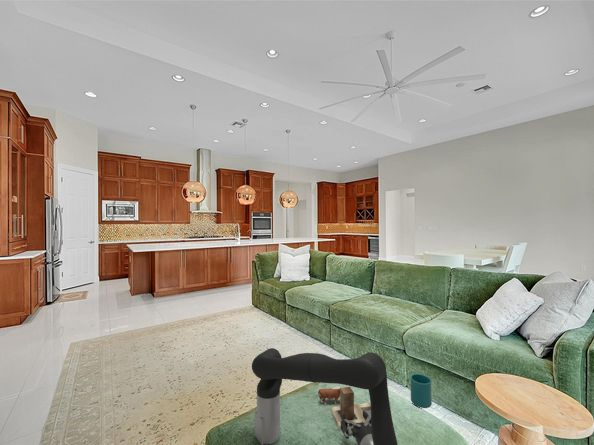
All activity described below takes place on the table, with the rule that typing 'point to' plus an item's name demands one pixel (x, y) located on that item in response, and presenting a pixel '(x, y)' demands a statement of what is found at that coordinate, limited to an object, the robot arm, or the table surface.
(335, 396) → the bull figurine
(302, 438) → the table surface
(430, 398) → the cup
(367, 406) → the puzzle board
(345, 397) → the walnut block
